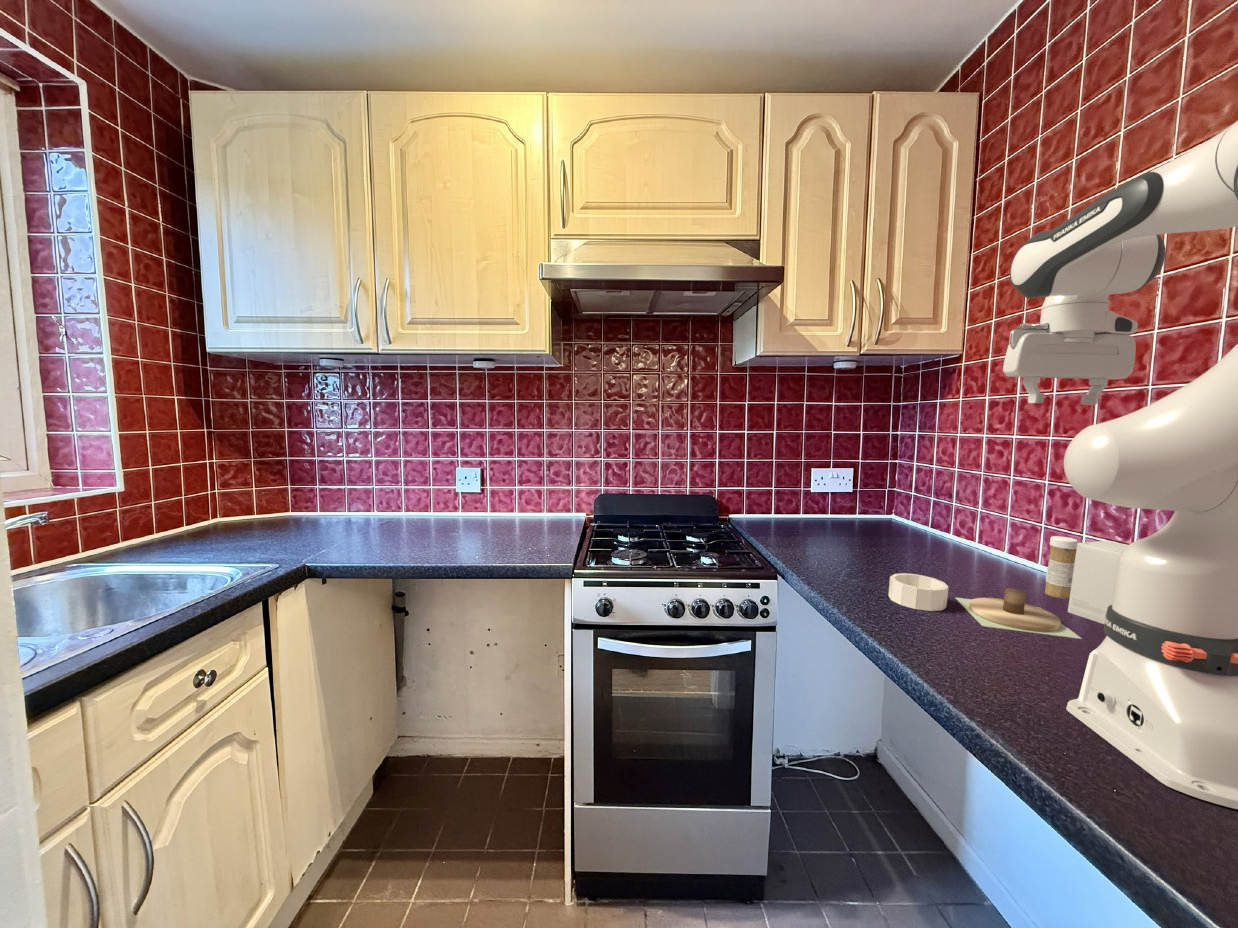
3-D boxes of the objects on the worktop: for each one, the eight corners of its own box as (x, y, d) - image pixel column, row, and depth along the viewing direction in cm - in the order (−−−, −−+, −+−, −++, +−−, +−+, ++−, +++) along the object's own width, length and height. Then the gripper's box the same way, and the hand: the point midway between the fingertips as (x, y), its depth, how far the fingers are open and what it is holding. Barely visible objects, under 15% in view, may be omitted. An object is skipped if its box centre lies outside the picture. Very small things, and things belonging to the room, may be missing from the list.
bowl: (952, 617, 99) (954, 592, 98) (894, 610, 102) (896, 586, 101) (936, 599, 108) (938, 576, 108) (884, 593, 111) (886, 571, 111)
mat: (1081, 642, 89) (1082, 638, 89) (981, 629, 93) (982, 625, 93) (1039, 611, 103) (1039, 607, 103) (954, 601, 108) (955, 597, 108)
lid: (1077, 636, 90) (1080, 609, 89) (984, 625, 94) (987, 599, 93) (1038, 607, 103) (1041, 583, 102) (958, 598, 107) (961, 575, 106)
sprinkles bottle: (1054, 593, 114) (1061, 535, 112) (1076, 601, 109) (1084, 540, 108) (1037, 595, 113) (1045, 535, 111) (1059, 602, 108) (1067, 541, 107)
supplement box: (1121, 634, 93) (1132, 554, 92) (1065, 615, 102) (1075, 542, 100) (1152, 628, 96) (1163, 551, 94) (1095, 610, 105) (1104, 539, 103)
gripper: (1026, 320, 86) (1016, 402, 88) (1148, 323, 86) (1136, 405, 87) (999, 325, 92) (990, 402, 94) (1112, 328, 92) (1102, 405, 94)
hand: (1062, 404), depth 91 cm, fingers open, 8 cm apart
